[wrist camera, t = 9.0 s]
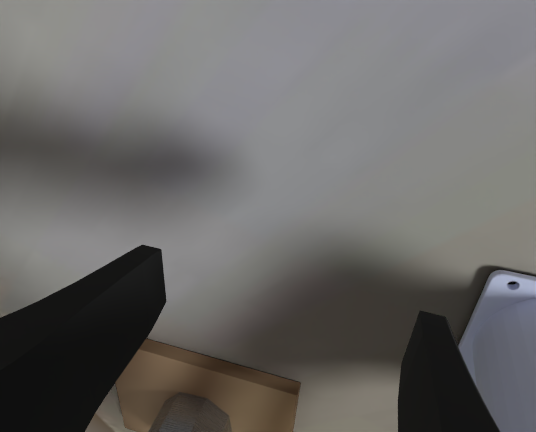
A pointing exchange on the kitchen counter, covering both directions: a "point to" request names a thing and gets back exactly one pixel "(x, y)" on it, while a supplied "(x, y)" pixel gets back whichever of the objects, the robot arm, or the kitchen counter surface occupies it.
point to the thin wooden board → (204, 389)
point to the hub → (190, 415)
